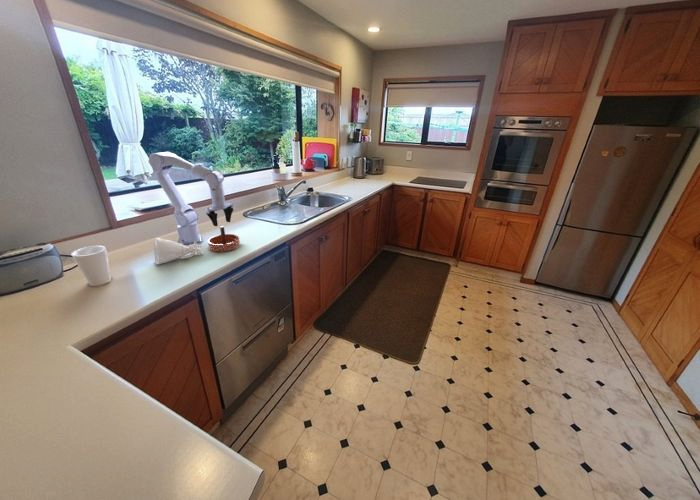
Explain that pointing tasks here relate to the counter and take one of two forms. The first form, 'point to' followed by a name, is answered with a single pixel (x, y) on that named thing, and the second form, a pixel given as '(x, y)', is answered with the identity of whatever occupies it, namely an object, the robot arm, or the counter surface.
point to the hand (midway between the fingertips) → (222, 223)
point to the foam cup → (93, 264)
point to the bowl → (217, 244)
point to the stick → (223, 234)
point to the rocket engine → (173, 250)
